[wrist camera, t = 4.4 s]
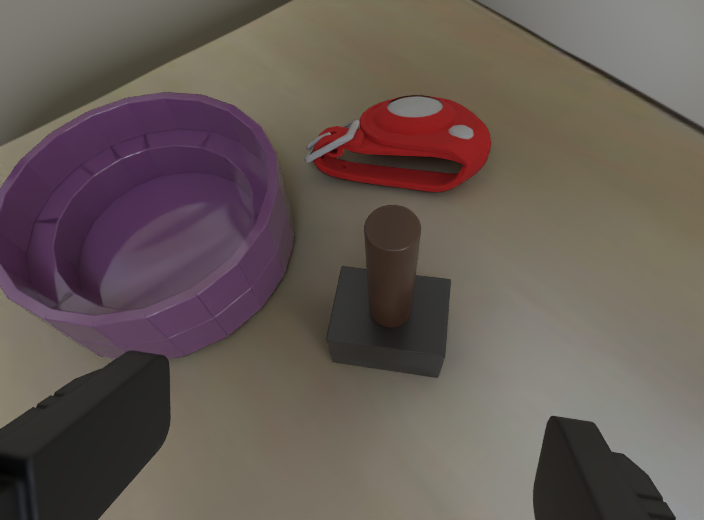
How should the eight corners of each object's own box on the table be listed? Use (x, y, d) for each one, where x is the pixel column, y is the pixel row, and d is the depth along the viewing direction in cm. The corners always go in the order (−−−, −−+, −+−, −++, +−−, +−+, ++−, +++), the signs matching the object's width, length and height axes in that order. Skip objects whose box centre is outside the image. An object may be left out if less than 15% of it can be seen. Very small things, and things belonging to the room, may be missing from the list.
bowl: (317, 167, 35) (305, 102, 30) (258, 384, 27) (228, 346, 22) (114, 148, 37) (71, 84, 32) (3, 343, 29) (-79, 300, 24)
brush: (444, 306, 28) (474, 189, 19) (438, 378, 26) (468, 286, 17) (345, 293, 29) (327, 176, 20) (332, 362, 27) (304, 266, 18)
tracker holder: (406, 73, 38) (520, 103, 32) (406, 126, 40) (510, 162, 35) (286, 125, 31) (399, 173, 26) (295, 183, 34) (399, 238, 28)
